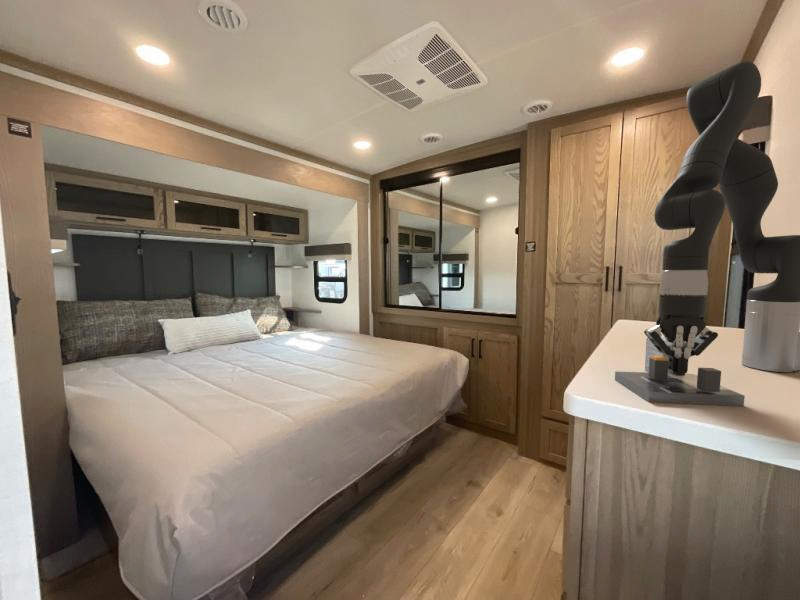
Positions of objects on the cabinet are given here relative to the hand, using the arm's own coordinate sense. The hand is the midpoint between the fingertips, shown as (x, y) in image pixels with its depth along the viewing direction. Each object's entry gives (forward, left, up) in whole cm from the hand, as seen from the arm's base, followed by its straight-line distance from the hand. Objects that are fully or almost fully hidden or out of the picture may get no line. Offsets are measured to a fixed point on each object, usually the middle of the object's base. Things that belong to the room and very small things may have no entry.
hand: (677, 374), depth 69 cm
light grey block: (-3, -10, -4) cm, 11 cm away
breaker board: (+2, +1, -3) cm, 4 cm away
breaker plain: (-1, +6, -1) cm, 7 cm away
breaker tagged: (+4, 0, -1) cm, 4 cm away
